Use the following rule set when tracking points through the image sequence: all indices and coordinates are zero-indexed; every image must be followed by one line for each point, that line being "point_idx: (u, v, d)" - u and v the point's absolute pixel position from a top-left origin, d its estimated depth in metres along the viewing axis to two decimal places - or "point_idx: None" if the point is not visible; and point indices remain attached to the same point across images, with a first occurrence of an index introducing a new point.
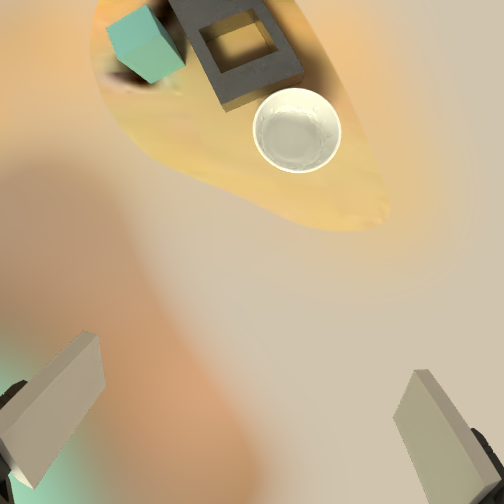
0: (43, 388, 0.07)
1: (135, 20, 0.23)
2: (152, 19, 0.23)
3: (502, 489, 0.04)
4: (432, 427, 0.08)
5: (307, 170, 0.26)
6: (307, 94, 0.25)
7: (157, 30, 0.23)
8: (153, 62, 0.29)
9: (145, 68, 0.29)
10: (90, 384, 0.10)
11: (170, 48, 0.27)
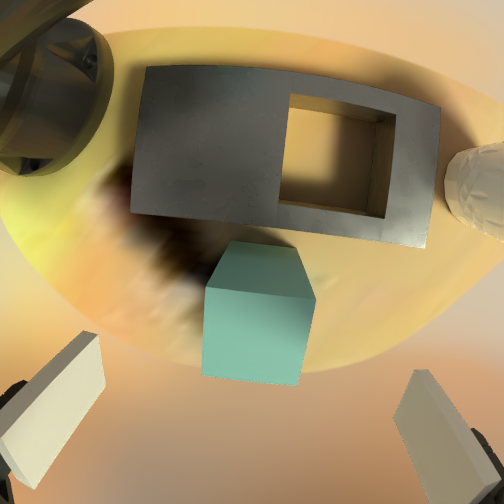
0: (43, 388, 0.07)
1: (233, 325, 0.14)
2: (261, 295, 0.14)
3: (502, 489, 0.04)
4: (432, 427, 0.08)
5: None
6: None
7: (301, 300, 0.14)
8: None
9: None
10: (90, 384, 0.10)
11: None
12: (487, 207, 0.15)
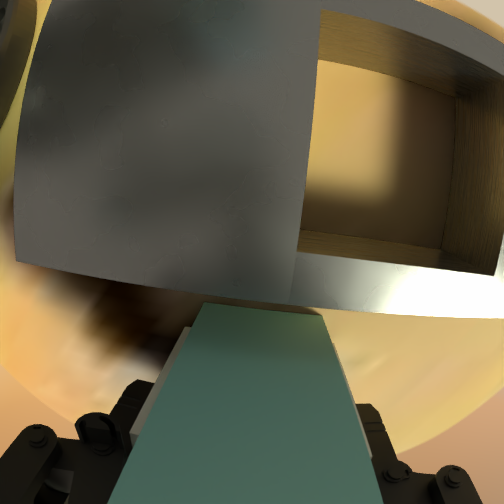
0: None
1: None
2: None
3: None
4: None
5: None
6: None
7: None
8: None
9: None
10: None
11: (354, 417, 0.07)
12: None
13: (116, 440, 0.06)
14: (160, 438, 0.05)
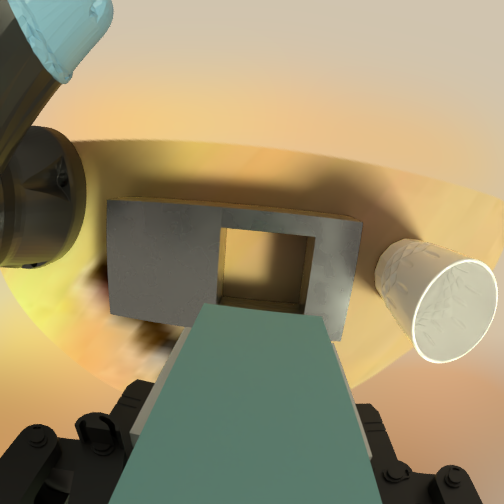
0: None
1: None
2: None
3: None
4: None
5: (490, 323, 0.17)
6: None
7: None
8: None
9: None
10: None
11: (353, 418, 0.07)
12: (395, 315, 0.21)
13: (116, 440, 0.06)
14: (160, 439, 0.05)
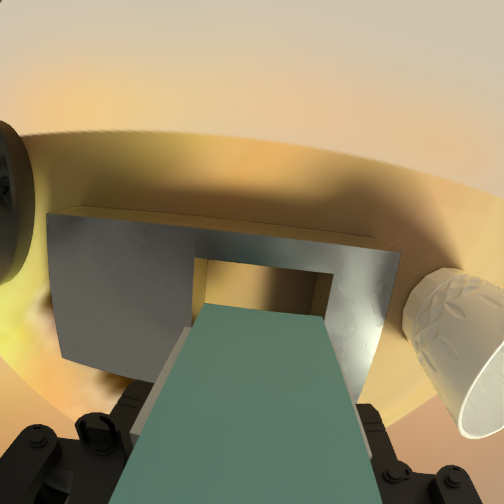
0: None
1: None
2: None
3: None
4: None
5: None
6: None
7: None
8: None
9: None
10: None
11: (354, 418, 0.07)
12: (434, 379, 0.14)
13: (116, 440, 0.06)
14: (160, 439, 0.05)
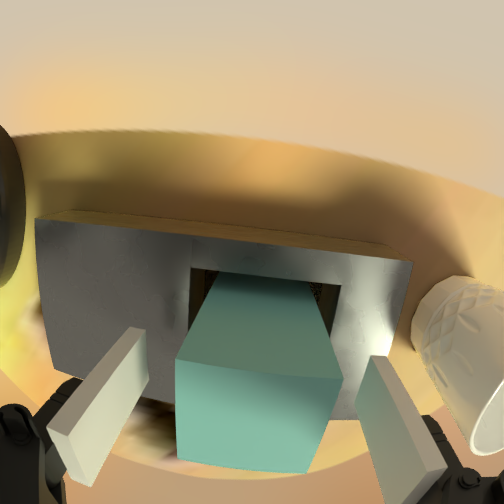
0: (103, 383, 0.08)
1: (219, 410, 0.09)
2: (261, 375, 0.08)
3: (448, 481, 0.05)
4: (383, 411, 0.09)
5: None
6: None
7: (321, 381, 0.08)
8: None
9: None
10: (138, 378, 0.11)
11: None
12: (445, 394, 0.12)
13: (33, 430, 0.06)
14: (205, 325, 0.11)
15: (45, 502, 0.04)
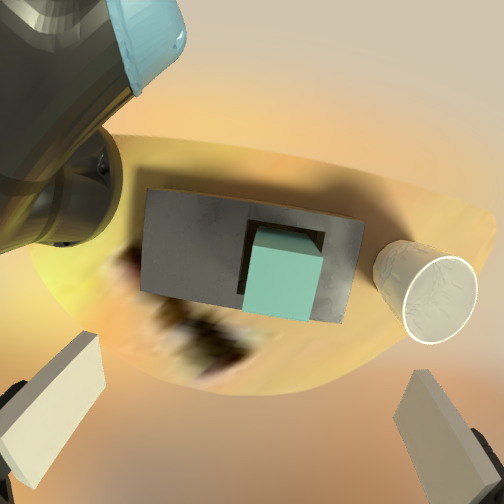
0: (43, 388, 0.07)
1: (269, 272, 0.22)
2: (289, 253, 0.21)
3: (502, 489, 0.04)
4: (432, 428, 0.08)
5: (470, 313, 0.22)
6: None
7: (314, 257, 0.21)
8: None
9: None
10: (90, 384, 0.10)
11: None
12: (389, 301, 0.25)
13: None
14: (260, 240, 0.24)
15: None
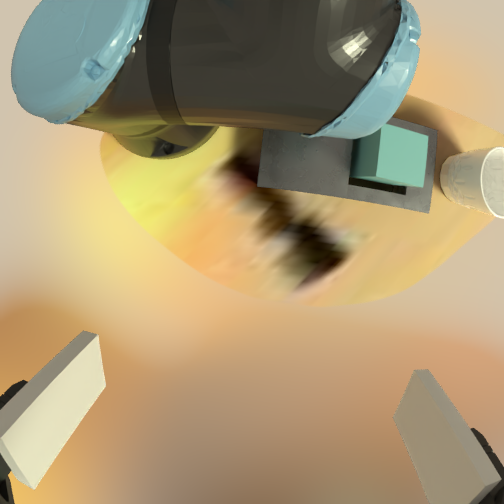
0: (43, 388, 0.07)
1: (394, 144, 0.24)
2: (406, 130, 0.24)
3: (502, 489, 0.04)
4: (432, 428, 0.08)
5: None
6: None
7: (422, 135, 0.24)
8: None
9: None
10: (90, 384, 0.10)
11: None
12: (465, 188, 0.28)
13: None
14: None
15: None
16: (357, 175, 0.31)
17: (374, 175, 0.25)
